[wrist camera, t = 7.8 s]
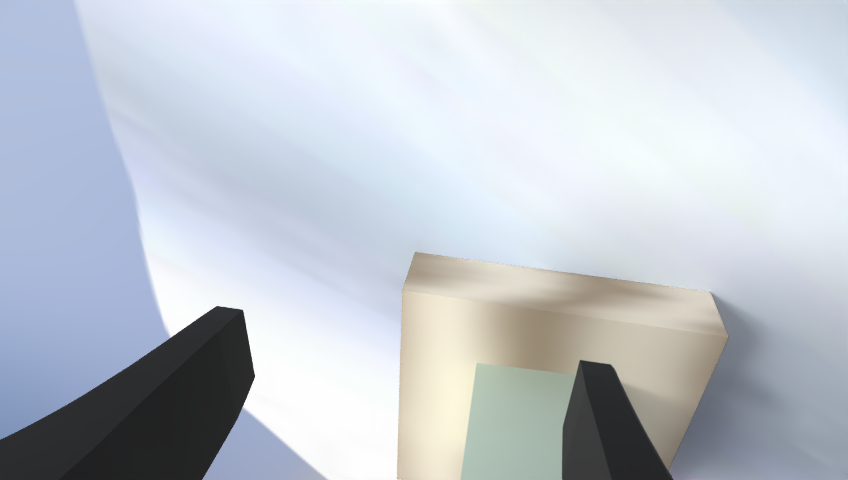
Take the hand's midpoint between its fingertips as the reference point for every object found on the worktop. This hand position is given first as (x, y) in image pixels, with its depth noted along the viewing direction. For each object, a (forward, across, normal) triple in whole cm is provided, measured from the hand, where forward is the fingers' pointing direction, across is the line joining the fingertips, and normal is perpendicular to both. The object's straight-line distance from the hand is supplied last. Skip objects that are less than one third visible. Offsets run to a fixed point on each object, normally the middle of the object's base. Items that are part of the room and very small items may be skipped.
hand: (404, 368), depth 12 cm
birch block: (+10, -4, +9) cm, 14 cm away
